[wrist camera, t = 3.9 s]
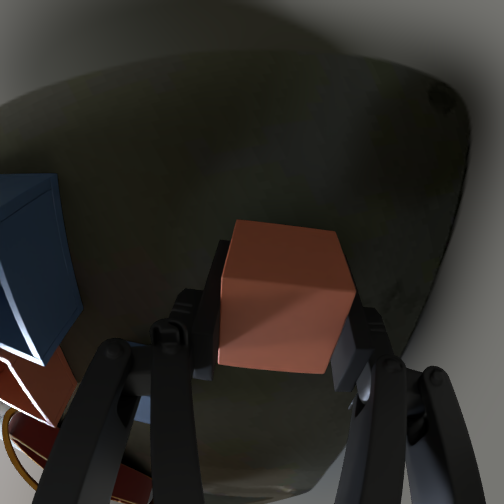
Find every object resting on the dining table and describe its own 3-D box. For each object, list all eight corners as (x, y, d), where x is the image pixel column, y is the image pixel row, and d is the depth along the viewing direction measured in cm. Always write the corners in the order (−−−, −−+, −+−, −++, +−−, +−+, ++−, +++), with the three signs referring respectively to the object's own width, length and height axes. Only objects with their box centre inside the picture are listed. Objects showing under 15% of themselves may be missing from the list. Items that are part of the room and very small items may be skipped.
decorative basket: (9, 400, 44) (-18, 451, 32) (23, 388, 29) (-19, 472, 18) (130, 475, 56) (113, 523, 44) (204, 489, 41) (185, 558, 29)
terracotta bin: (-23, 287, 24) (-57, 324, 18) (45, 309, 24) (8, 360, 18) (11, 357, 30) (-12, 393, 24) (77, 383, 29) (55, 428, 24)
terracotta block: (236, 218, 15) (221, 276, 11) (335, 230, 15) (357, 291, 11) (230, 297, 18) (217, 364, 14) (315, 307, 18) (324, 374, 14)
